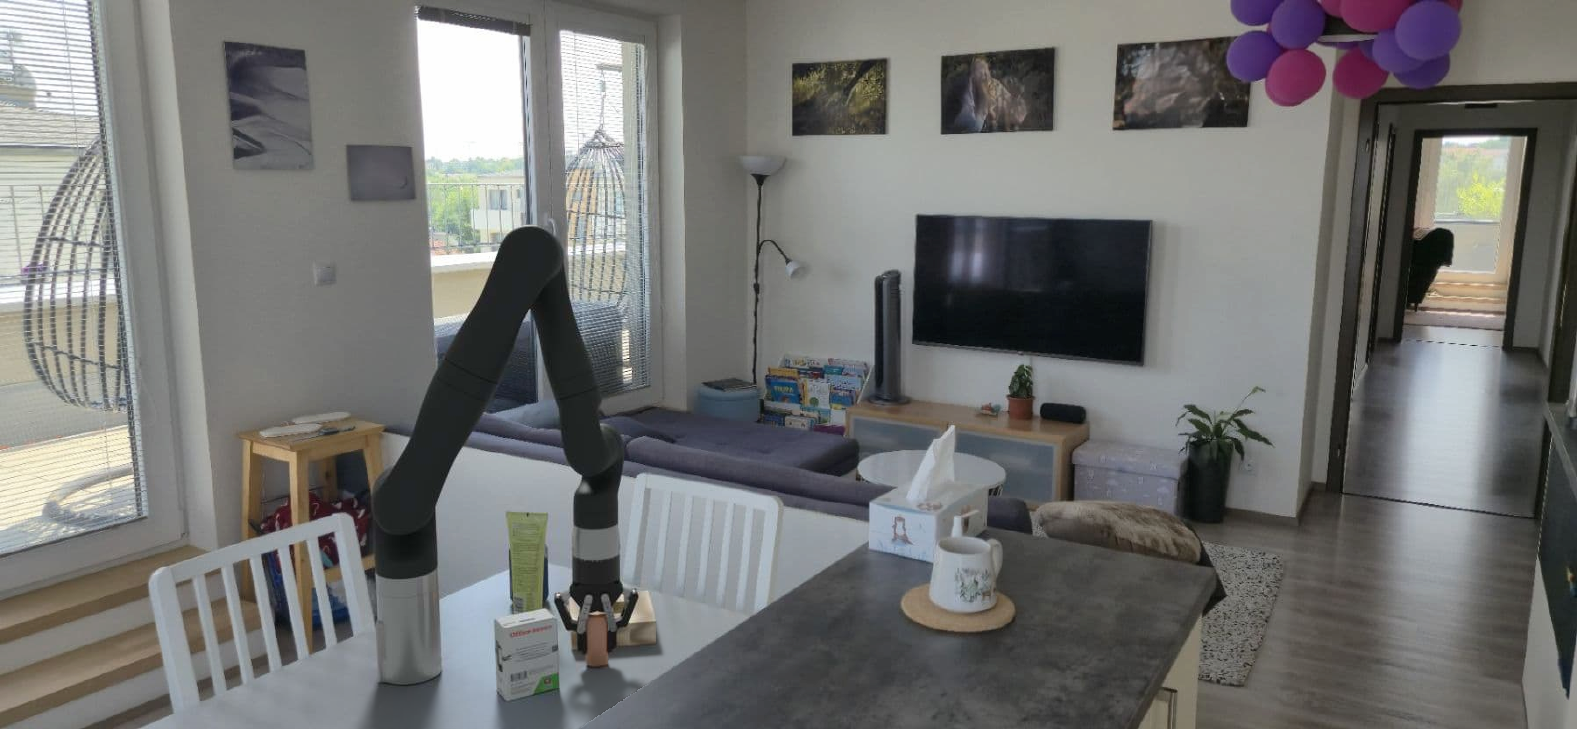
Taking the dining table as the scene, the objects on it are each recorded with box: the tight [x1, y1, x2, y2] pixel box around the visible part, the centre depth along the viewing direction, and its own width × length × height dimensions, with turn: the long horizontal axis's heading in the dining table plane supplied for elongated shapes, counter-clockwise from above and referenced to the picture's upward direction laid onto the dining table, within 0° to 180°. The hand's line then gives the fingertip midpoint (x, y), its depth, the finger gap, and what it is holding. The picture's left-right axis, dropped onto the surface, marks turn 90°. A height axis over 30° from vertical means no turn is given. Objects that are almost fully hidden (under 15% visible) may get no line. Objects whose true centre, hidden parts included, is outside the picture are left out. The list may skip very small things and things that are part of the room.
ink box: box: [493, 607, 561, 702], centre depth 170 cm, size 9×5×12 cm, turn 123°
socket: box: [568, 590, 657, 651], centre depth 193 cm, size 14×14×4 cm
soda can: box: [508, 543, 550, 605], centre depth 204 cm, size 7×7×12 cm
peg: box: [585, 612, 609, 667], centre depth 179 cm, size 4×4×8 cm
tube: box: [505, 510, 549, 615], centre depth 196 cm, size 6×5×20 cm
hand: (596, 651), depth 179 cm, fingers closed on peg, 3 cm apart
